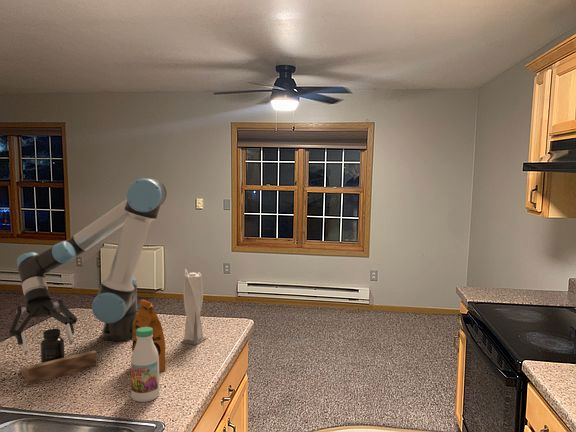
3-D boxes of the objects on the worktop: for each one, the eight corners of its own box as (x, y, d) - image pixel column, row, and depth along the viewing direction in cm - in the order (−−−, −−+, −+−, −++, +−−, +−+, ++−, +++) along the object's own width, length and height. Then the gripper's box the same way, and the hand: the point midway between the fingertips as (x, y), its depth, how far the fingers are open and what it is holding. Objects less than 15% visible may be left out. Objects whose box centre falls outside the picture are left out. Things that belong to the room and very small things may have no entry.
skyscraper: (178, 341, 171) (177, 270, 168) (190, 335, 178) (189, 266, 176) (196, 345, 167) (196, 272, 165) (208, 338, 175) (207, 268, 173)
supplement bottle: (69, 364, 147) (68, 328, 146) (52, 372, 140) (51, 335, 139) (53, 361, 149) (52, 326, 148) (36, 369, 142) (34, 333, 141)
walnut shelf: (85, 355, 157) (84, 341, 156) (96, 366, 148) (96, 351, 147) (20, 371, 144) (19, 356, 143) (28, 384, 135) (28, 368, 134)
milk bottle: (135, 390, 132) (134, 324, 130) (161, 389, 132) (160, 324, 131) (128, 403, 124) (126, 333, 122) (156, 402, 125) (155, 333, 123)
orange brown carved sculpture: (138, 378, 140) (136, 309, 138) (130, 363, 150) (129, 300, 148) (169, 371, 145) (168, 305, 143) (159, 357, 155) (159, 296, 153)
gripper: (72, 292, 165) (86, 343, 155) (-8, 305, 148) (3, 362, 139) (76, 281, 160) (91, 333, 151) (-5, 292, 144) (6, 351, 134)
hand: (49, 347), depth 145 cm, fingers open, 13 cm apart
